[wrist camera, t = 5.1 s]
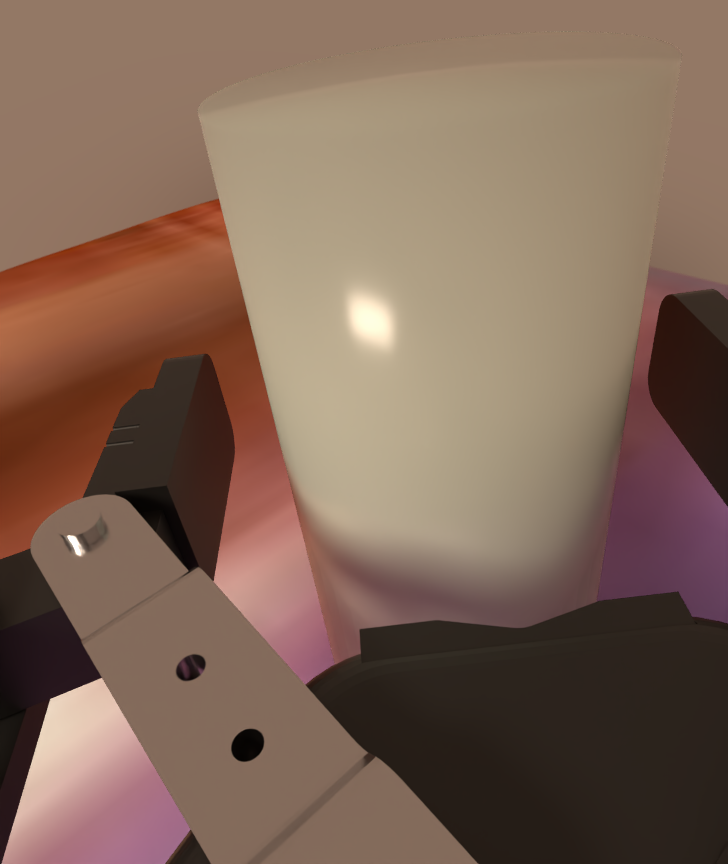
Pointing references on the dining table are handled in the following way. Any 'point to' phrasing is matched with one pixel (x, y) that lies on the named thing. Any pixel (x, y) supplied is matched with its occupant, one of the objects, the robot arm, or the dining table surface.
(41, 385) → the dining table surface
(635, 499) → the dining table surface
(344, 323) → the white tapered cylinder
